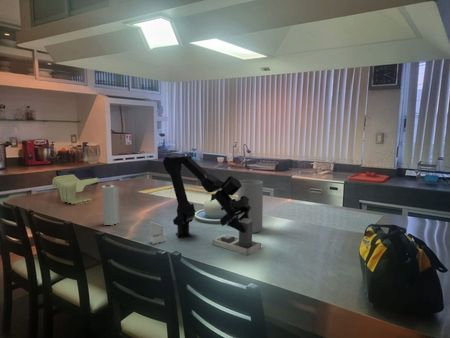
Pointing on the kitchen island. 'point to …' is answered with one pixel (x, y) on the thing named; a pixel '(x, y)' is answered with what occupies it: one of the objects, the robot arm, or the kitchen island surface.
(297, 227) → the kitchen island surface
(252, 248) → the beige divided rectangular frame
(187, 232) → the robot arm
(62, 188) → the pale green plastic piece
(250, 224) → the iec plug
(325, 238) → the kitchen island surface
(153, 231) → the white angled block
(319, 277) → the kitchen island surface
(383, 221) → the kitchen island surface
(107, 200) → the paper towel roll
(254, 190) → the cylinder vase
